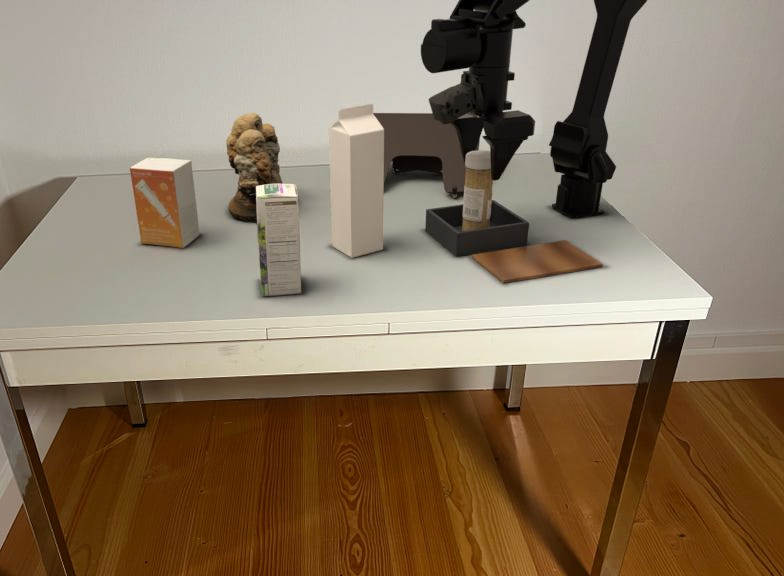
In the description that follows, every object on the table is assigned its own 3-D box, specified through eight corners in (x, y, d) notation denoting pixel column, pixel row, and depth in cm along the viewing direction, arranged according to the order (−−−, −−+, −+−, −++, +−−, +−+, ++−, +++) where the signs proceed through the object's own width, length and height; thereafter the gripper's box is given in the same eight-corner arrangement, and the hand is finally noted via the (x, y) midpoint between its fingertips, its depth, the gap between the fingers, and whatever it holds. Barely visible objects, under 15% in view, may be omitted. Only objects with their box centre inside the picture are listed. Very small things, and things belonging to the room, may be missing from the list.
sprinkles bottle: (495, 237, 121) (502, 153, 114) (474, 243, 119) (480, 159, 112) (474, 229, 125) (481, 147, 118) (454, 235, 123) (459, 153, 116)
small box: (140, 244, 126) (128, 167, 119) (159, 231, 131) (148, 156, 124) (183, 249, 124) (173, 170, 117) (201, 235, 129) (192, 159, 122)
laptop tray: (353, 219, 148) (349, 185, 141) (369, 139, 160) (366, 104, 153) (473, 224, 144) (475, 188, 136) (480, 141, 155) (482, 104, 148)
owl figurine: (287, 224, 131) (281, 124, 122) (220, 224, 132) (210, 126, 124) (299, 191, 146) (294, 100, 138) (239, 192, 148) (231, 102, 139)
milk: (383, 250, 120) (385, 107, 108) (350, 258, 117) (350, 113, 106) (362, 238, 124) (362, 99, 113) (330, 246, 122) (327, 105, 110)
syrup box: (260, 280, 111) (253, 184, 104) (300, 277, 112) (295, 181, 104) (261, 297, 107) (254, 197, 99) (303, 294, 107) (298, 194, 99)
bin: (491, 221, 128) (493, 199, 126) (527, 245, 118) (529, 222, 117) (425, 231, 126) (425, 209, 124) (455, 256, 116) (457, 233, 114)
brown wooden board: (564, 243, 119) (565, 240, 119) (602, 267, 110) (603, 263, 110) (471, 257, 115) (471, 254, 115) (503, 283, 107) (503, 280, 107)
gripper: (412, 59, 115) (409, 161, 123) (467, 81, 99) (459, 196, 107) (478, 53, 117) (471, 154, 125) (542, 73, 102) (530, 186, 109)
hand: (480, 171), depth 117 cm, fingers open, 9 cm apart
